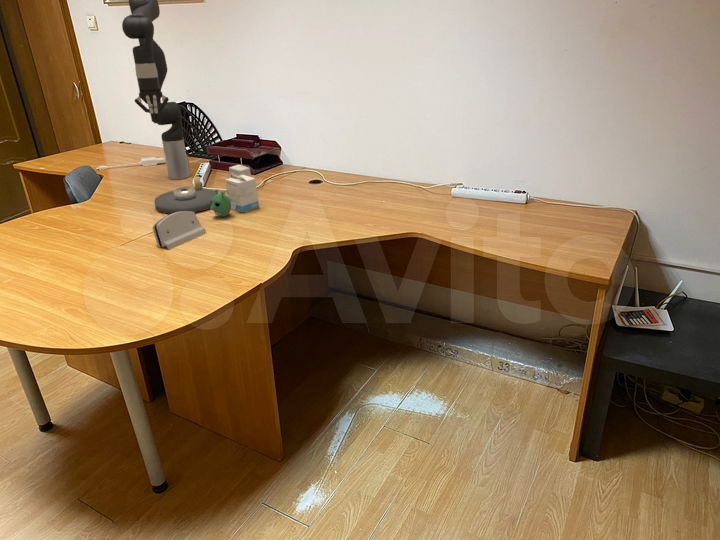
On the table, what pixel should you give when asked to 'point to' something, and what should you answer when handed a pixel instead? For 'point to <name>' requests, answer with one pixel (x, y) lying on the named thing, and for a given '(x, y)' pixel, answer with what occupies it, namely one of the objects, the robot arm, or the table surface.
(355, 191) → the table surface
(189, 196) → the cover
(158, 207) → the turntable
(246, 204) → the ink box
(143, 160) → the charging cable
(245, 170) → the ink box
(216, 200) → the alien toy
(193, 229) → the grey curved-top upright plate
